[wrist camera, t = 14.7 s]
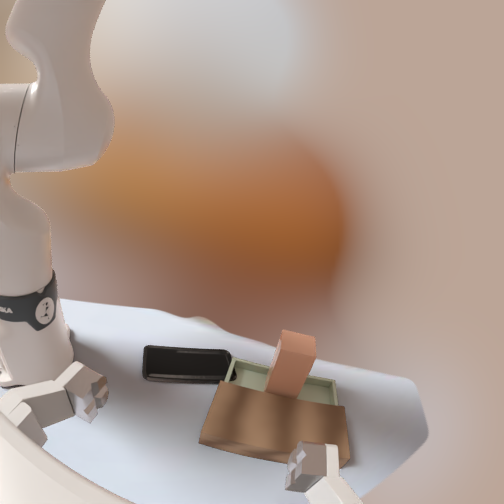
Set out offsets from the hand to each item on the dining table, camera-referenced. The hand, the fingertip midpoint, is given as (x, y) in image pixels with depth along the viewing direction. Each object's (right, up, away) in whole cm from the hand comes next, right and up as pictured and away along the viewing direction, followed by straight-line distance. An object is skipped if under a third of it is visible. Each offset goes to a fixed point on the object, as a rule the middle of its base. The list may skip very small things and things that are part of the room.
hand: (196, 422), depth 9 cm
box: (+7, -16, +31) cm, 36 cm away
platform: (+5, -18, +23) cm, 30 cm away
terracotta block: (+7, -15, +31) cm, 35 cm away
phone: (-8, -12, +33) cm, 36 cm away
